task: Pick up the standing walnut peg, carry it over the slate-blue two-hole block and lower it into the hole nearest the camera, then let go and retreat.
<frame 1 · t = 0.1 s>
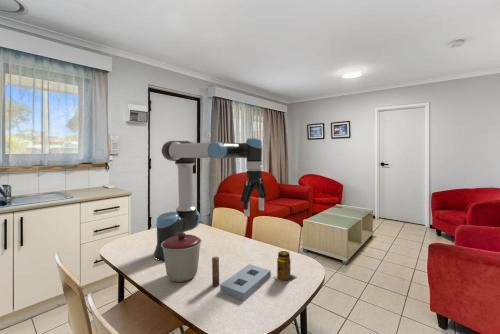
hand: (254, 213, 121), 28 cm above the table, fingers open, 13 cm apart
condiment: (285, 278, 114), on the table
canister: (182, 276, 115), on the table
hole block: (246, 283, 108), on the table
peg: (215, 284, 108), on the table
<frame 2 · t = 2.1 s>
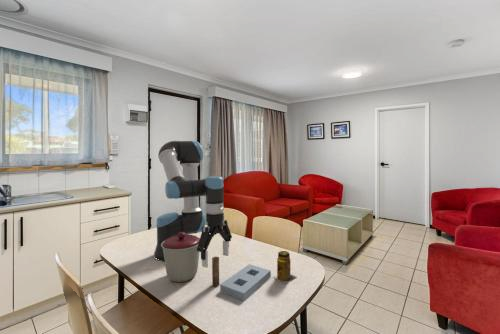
hand: (215, 260, 107), 11 cm above the table, fingers open, 13 cm apart
nothing on the table moved.
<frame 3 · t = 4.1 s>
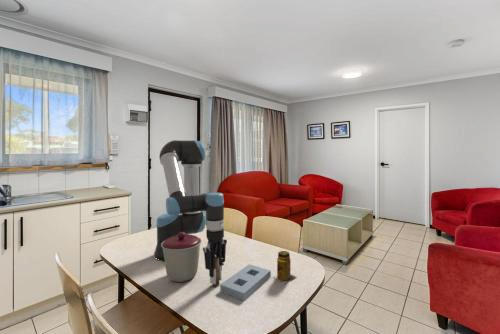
hand: (215, 281, 108), 2 cm above the table, fingers closed on peg, 3 cm apart
peg: (215, 284, 108), on the table, touching gripper
everything else where it was.
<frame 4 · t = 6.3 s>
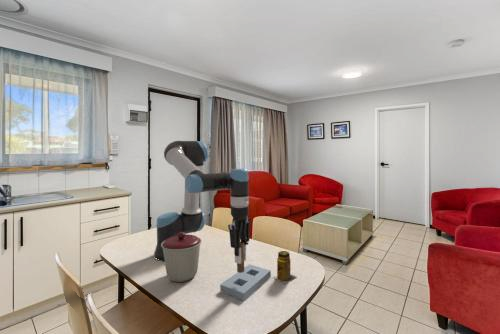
hand: (240, 261, 103), 12 cm above the table, fingers closed on peg, 3 cm apart
peg: (240, 270, 103), point 8 cm above the table, touching gripper
everything else where it was.
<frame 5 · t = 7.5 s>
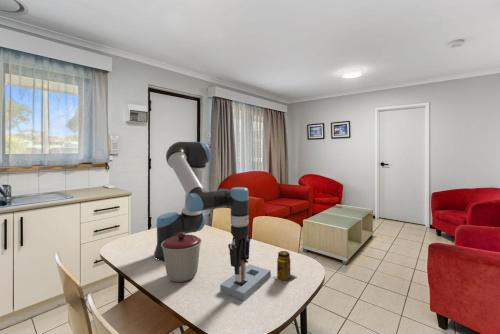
hand: (240, 279, 104), 4 cm above the table, fingers closed on peg, 2 cm apart
peg: (240, 287, 104), resting in hole block, touching gripper
everything else where it was.
when the fingers open (4 cm above the table, at t = 8.4 s): peg stays where it is, resting in hole block.
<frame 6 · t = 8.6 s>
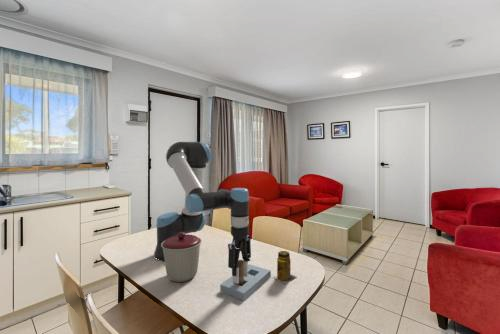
hand: (240, 279, 104), 4 cm above the table, fingers open, 6 cm apart
peg: (240, 289, 104), resting in hole block
everything else where it was.
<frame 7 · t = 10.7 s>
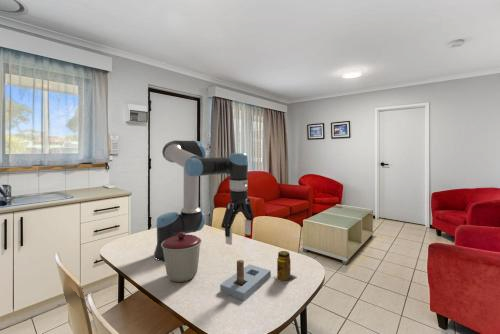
hand: (238, 238, 105), 21 cm above the table, fingers open, 13 cm apart
nothing on the table moved.
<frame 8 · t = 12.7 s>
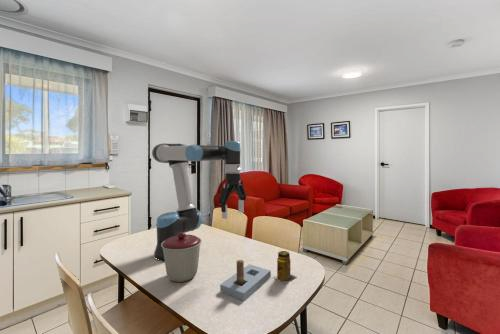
hand: (233, 215, 122), 27 cm above the table, fingers open, 13 cm apart
nothing on the table moved.
at the end: peg 0.0 cm from the target spot on the hole block, point 0.0 cm above the hole block's base; peg tilted 0°; the gripper is holding nothing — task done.
